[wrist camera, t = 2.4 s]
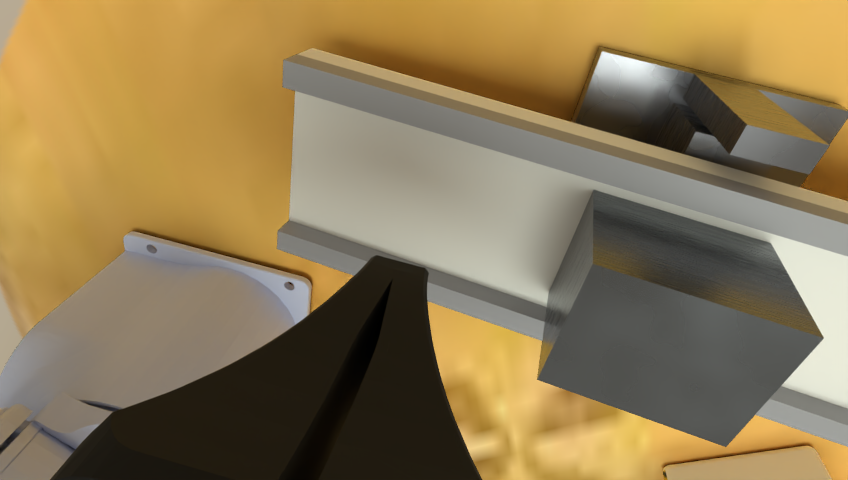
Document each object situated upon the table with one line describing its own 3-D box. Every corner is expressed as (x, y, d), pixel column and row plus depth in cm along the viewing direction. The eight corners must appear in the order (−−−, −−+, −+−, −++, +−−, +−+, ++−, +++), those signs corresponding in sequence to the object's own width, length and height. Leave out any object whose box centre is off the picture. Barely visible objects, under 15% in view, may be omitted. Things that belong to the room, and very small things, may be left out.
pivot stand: (512, 276, 22) (508, 368, 18) (599, 46, 17) (624, 94, 12) (690, 323, 22) (732, 429, 18) (839, 104, 17) (956, 176, 12)
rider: (548, 292, 17) (536, 379, 14) (593, 189, 15) (592, 263, 11) (699, 343, 16) (725, 446, 13) (770, 243, 14) (823, 338, 11)
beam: (323, 202, 21) (262, 264, 17) (338, 36, 18) (264, 67, 14) (991, 422, 18) (1101, 559, 14) (1188, 275, 14) (1415, 407, 10)
